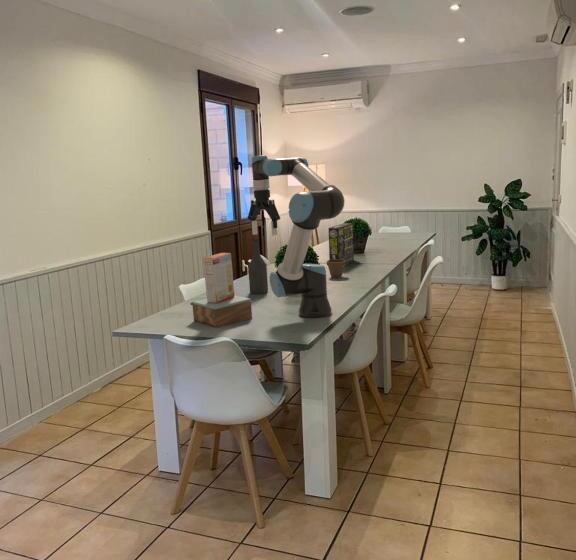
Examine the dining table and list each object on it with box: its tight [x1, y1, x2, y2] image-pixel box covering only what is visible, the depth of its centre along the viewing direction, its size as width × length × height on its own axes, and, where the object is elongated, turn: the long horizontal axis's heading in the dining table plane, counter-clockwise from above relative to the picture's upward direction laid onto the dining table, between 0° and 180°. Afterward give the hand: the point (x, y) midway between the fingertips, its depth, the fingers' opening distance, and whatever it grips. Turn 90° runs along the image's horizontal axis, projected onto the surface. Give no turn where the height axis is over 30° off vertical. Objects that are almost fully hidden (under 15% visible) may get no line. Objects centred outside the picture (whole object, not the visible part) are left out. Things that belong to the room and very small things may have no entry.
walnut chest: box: [190, 301, 253, 328], centre depth 268 cm, size 19×21×9 cm
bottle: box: [247, 238, 269, 295], centre depth 321 cm, size 10×10×30 cm
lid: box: [192, 295, 252, 309], centre depth 267 cm, size 18×20×1 cm
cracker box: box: [202, 252, 236, 303], centre depth 266 cm, size 14×6×21 cm, turn 149°
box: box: [328, 222, 355, 266], centre depth 398 cm, size 34×7×27 cm, turn 157°
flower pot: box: [326, 259, 346, 279], centre depth 355 cm, size 12×11×10 cm
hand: (264, 234), depth 276 cm, fingers open, 13 cm apart
